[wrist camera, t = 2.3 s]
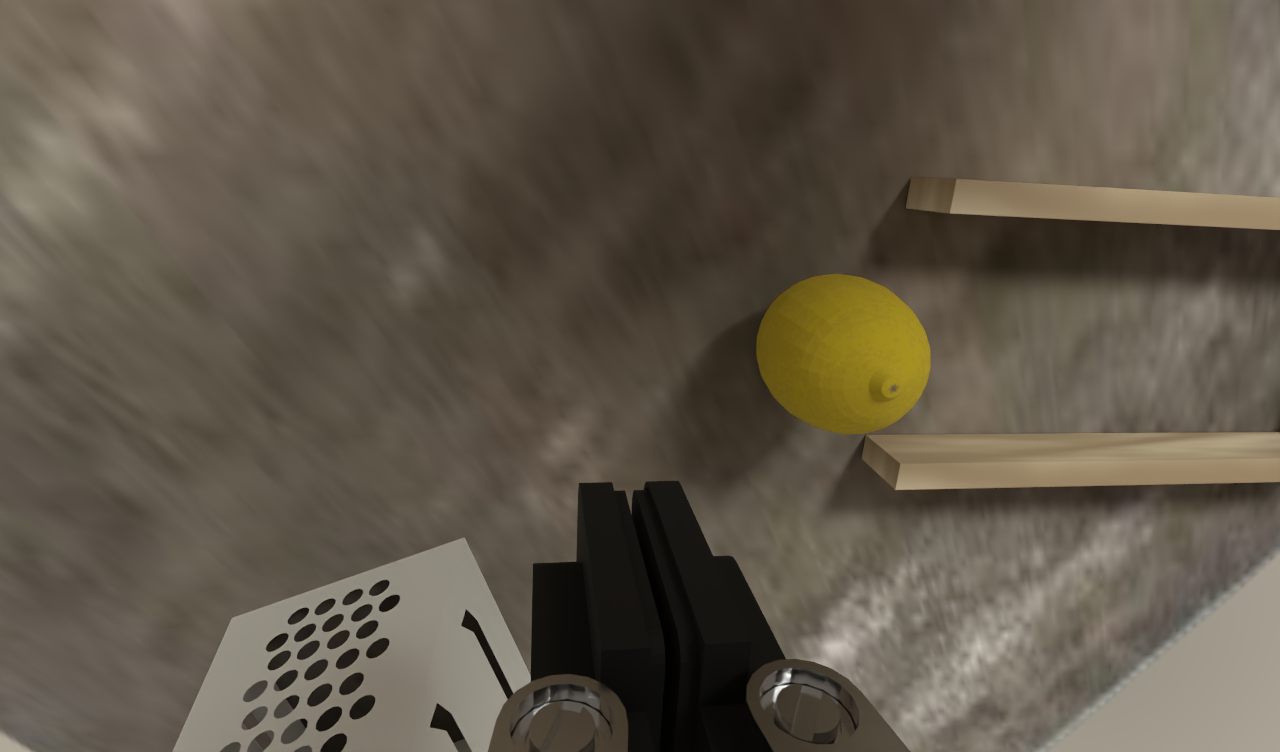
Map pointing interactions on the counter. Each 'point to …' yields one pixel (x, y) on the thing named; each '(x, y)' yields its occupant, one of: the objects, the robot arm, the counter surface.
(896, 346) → the lemon
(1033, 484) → the wooden frame
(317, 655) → the grater
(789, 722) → the robot arm
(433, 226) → the counter surface
